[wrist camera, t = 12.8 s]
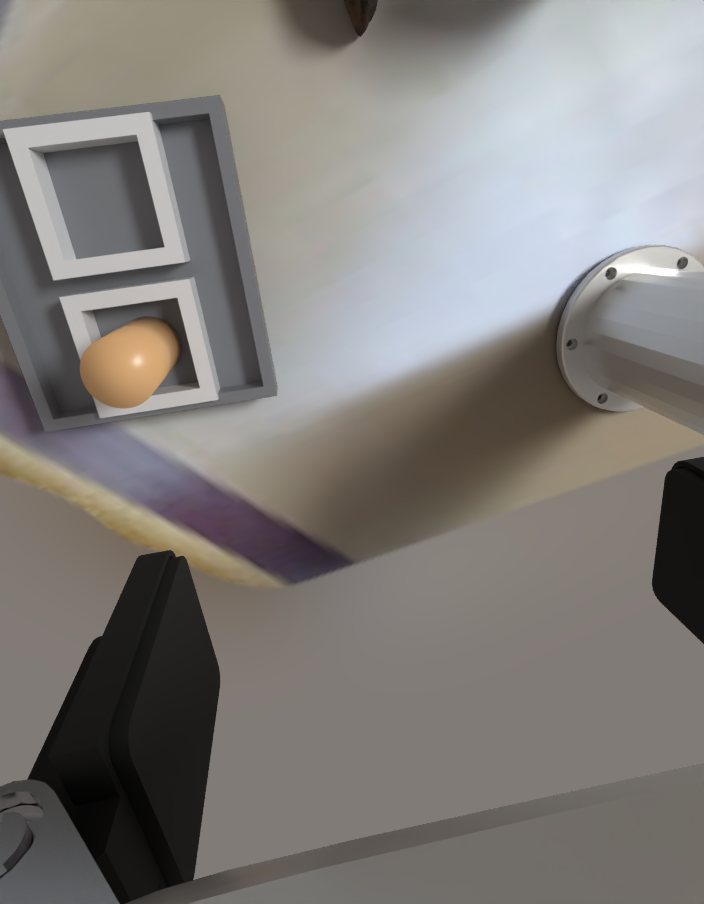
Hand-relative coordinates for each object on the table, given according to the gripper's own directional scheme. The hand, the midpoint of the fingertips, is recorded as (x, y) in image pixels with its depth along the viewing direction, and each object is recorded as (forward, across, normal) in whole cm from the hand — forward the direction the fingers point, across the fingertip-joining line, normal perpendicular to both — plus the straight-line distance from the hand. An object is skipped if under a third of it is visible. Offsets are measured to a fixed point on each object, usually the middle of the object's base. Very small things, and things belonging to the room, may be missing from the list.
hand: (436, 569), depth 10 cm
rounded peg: (+29, +12, 0) cm, 32 cm away
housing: (+30, +12, -5) cm, 33 cm away
